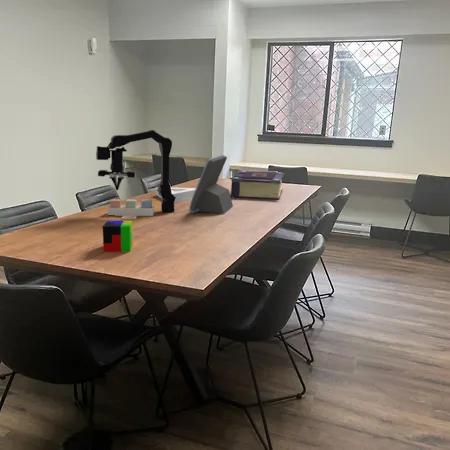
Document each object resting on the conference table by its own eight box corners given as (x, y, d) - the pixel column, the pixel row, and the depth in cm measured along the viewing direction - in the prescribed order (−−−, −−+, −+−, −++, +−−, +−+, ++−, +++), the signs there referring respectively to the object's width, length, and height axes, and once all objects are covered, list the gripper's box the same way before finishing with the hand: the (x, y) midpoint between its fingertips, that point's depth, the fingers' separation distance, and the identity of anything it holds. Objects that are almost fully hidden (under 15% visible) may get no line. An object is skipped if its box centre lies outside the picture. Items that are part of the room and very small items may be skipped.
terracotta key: (121, 208, 248) (121, 199, 247) (120, 210, 243) (119, 201, 242) (111, 208, 247) (111, 199, 246) (110, 210, 242) (109, 200, 241)
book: (228, 197, 306) (229, 176, 302) (238, 188, 349) (238, 169, 346) (280, 200, 300) (281, 178, 297) (283, 190, 344) (284, 171, 340)
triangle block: (173, 204, 279) (173, 194, 278) (140, 199, 292) (140, 189, 291) (201, 198, 304) (201, 188, 303) (170, 193, 317) (170, 184, 316)
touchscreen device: (203, 202, 285) (205, 153, 278) (234, 205, 281) (238, 155, 274) (186, 213, 251) (188, 157, 244) (221, 217, 247) (224, 160, 241)
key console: (154, 213, 251) (154, 205, 250) (153, 215, 244) (153, 208, 243) (110, 212, 249) (110, 205, 248) (107, 215, 242) (107, 207, 241)
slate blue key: (151, 208, 249) (151, 199, 248) (151, 210, 244) (150, 201, 243) (142, 208, 249) (142, 199, 247) (141, 210, 244) (141, 201, 243)
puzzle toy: (107, 244, 188) (106, 220, 186) (132, 244, 189) (132, 220, 186) (103, 251, 178) (102, 226, 176) (130, 251, 179) (129, 226, 177)
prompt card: (136, 216, 241) (136, 215, 241) (135, 219, 235) (135, 217, 235) (123, 216, 241) (123, 215, 240) (121, 218, 235) (121, 217, 235)
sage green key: (136, 208, 248) (136, 199, 247) (135, 210, 243) (135, 201, 242) (127, 208, 248) (126, 199, 247) (125, 210, 243) (125, 201, 242)
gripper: (137, 159, 249) (137, 188, 252) (101, 158, 247) (102, 187, 251) (134, 161, 238) (134, 191, 241) (97, 159, 237) (97, 190, 240)
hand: (117, 190), depth 244 cm, fingers closed
